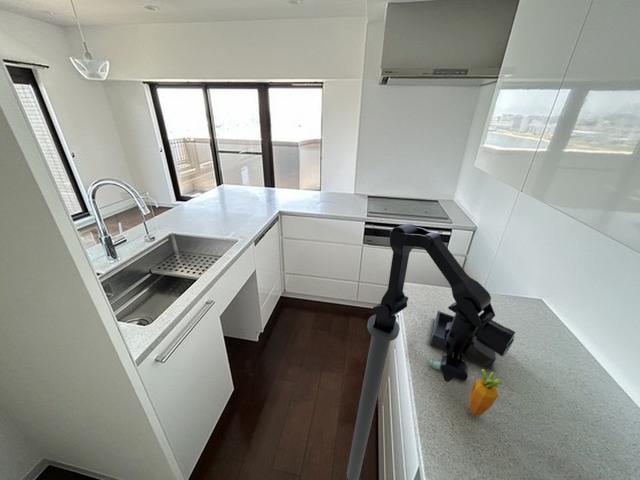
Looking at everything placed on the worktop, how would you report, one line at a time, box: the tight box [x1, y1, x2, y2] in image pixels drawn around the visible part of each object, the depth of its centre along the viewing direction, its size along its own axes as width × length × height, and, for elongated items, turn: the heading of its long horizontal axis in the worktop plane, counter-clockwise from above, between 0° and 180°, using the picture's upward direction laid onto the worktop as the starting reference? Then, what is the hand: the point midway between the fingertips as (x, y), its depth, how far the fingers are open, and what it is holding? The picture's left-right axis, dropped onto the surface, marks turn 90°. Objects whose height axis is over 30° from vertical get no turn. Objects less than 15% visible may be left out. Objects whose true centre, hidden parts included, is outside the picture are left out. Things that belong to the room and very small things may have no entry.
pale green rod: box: [429, 359, 441, 371], centre depth 76 cm, size 10×2×2 cm, turn 61°
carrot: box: [468, 368, 502, 417], centre depth 62 cm, size 5×5×15 cm
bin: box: [429, 310, 497, 370], centre depth 86 cm, size 18×14×5 cm
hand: (447, 368), depth 76 cm, fingers open, 9 cm apart
